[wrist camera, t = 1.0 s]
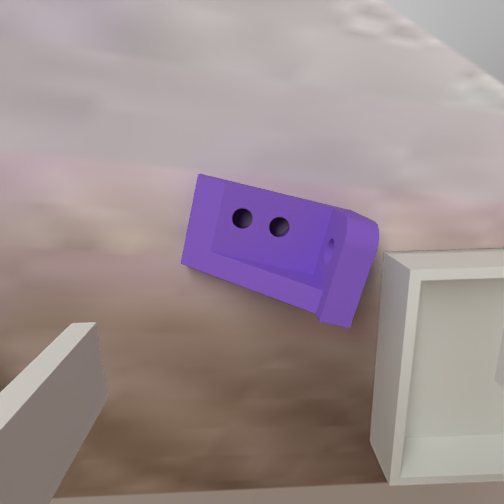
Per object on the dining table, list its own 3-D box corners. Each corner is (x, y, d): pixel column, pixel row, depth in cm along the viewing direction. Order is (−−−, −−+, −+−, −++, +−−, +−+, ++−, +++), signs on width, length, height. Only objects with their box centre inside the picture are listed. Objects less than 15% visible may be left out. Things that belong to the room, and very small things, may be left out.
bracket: (350, 210, 27) (384, 226, 20) (325, 289, 29) (349, 328, 22) (200, 173, 26) (186, 178, 20) (184, 257, 28) (165, 288, 21)
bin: (369, 441, 33) (389, 485, 28) (383, 251, 28) (410, 269, 23) (563, 433, 33) (613, 476, 28) (612, 244, 28) (681, 260, 23)
